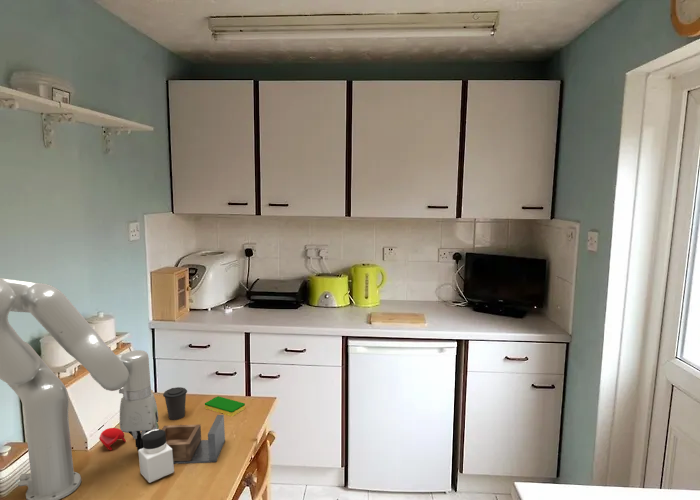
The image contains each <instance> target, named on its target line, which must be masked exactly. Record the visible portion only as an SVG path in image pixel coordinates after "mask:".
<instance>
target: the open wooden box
mask: <svg viewBox="0 0 700 500" xmlns="http://www.w3.org/2000/svg"><path fill="white" fill-rule="evenodd" d="M201 426H202V425H201V424H180V425H179V424H178V425H177V424H176V425H175V424H174V425H172V424H171V425H164V426H163V427H162V428H161V430H164V431H165V434H166V444H167V445H168V446H170V447H171V448H172V450H173V461H191V459H192V457H193V455H194V453H195V451H196V449H197V447H198V445H199V443H200V441H201V440H202V431H201V430H202V428H201Z"/></svg>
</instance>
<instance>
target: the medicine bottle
mask: <svg viewBox="0 0 700 500" xmlns="http://www.w3.org/2000/svg"><path fill="white" fill-rule="evenodd" d="M142 440H143V448H142V449H139V450H138V451H137V452H138V463H139V472H140V474H141V475H142V476H143V478H144V479H145V480H146V481H147V482H148V483H152V482H155V481H158V480H159V479H161V478H164V477H166V476H168V475H171V474H173V473H175V464H174V462H173V450H172V448H171V447H170V446H168V445H167V444H166V434H165V431H164V430H162V428H161V429H159V428H158V429H155V430H151V431H149V432H147V433H145V434H144V435H143V437H142Z"/></svg>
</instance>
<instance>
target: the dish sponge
mask: <svg viewBox="0 0 700 500" xmlns="http://www.w3.org/2000/svg"><path fill="white" fill-rule="evenodd" d="M205 408H206V410H208V409H210V410H209V411H211V410H213V411H212V412H215V411H216V412H215V413H218V412H219V414H221V413H223V414H222V415H225V416H229V417H231V416H232V417H234V416H236V415H238V414H239V413H240V412H242V411H244V410H245V409H246V403H245V402H241V401H237V400H234V399H231V398H226V397H222V396H219V395H217V396H216V397H214V398H212V399H210V400H208V401H206V402H205V403H204V409H205ZM237 413H238V414H237Z"/></svg>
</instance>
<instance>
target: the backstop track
mask: <svg viewBox="0 0 700 500" xmlns="http://www.w3.org/2000/svg"><path fill="white" fill-rule="evenodd" d="M224 415H225V414H217V415H216V417H215V419H214V420H213V423H212V424H211V427H210V429H209V431H208V433H207V439H201V441H200V443H199V445H198V447H197V449H196V451H195V453H194V455H193V457H192V459H191V461H173V462H174V465H179V464H181V465H182V464H183V465H185V464H204V463H205V464H206V463H210V464H211V463H217V461H218V460H219V456H220V454H221V452H222V449H223V448H224V445H225V442H226V435H225V433H226V432H225V431H226V430H225V416H224Z"/></svg>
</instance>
